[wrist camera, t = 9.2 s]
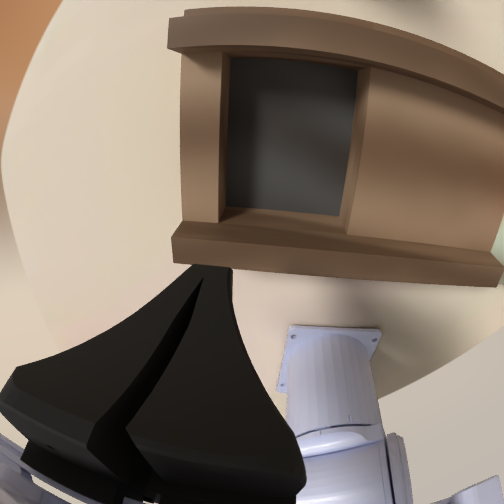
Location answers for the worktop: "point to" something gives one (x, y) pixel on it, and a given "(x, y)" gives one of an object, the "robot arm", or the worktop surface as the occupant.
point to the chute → (336, 149)
